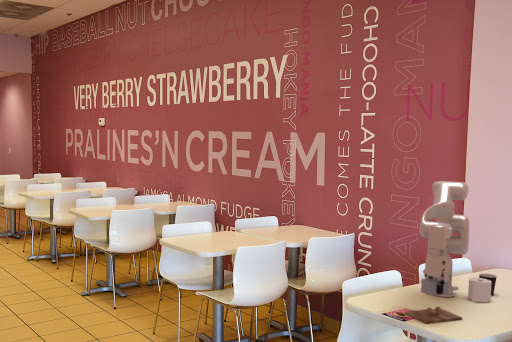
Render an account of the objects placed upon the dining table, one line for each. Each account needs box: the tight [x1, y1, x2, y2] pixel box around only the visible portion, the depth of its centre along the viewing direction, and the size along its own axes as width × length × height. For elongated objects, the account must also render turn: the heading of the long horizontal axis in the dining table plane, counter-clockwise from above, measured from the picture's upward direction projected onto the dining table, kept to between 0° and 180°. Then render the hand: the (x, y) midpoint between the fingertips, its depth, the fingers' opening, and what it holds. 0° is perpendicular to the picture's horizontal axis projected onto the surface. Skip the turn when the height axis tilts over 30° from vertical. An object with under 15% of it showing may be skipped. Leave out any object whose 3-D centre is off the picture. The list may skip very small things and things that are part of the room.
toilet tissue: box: [467, 277, 492, 303], centre depth 267 cm, size 11×12×10 cm
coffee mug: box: [478, 273, 497, 296], centre depth 281 cm, size 12×9×10 cm
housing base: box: [404, 306, 463, 325], centre depth 236 cm, size 20×14×4 cm
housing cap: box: [420, 278, 449, 297], centre depth 236 cm, size 10×6×6 cm, turn 112°
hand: (434, 291), depth 236 cm, fingers closed on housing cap, 6 cm apart
